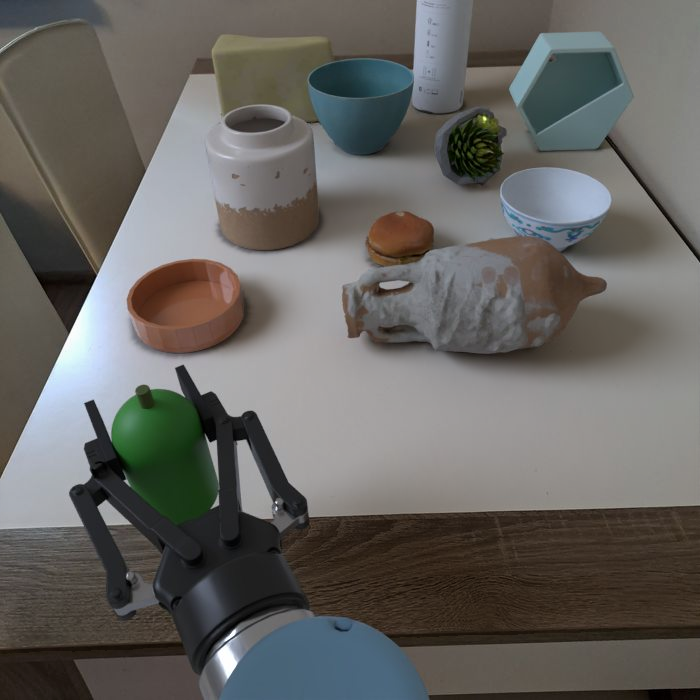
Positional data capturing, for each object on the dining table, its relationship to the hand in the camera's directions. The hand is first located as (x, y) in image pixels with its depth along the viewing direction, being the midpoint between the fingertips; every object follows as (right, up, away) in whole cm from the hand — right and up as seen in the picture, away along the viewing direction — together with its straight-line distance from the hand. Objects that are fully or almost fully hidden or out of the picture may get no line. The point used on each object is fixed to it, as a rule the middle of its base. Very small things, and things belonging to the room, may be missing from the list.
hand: (139, 394), depth 52 cm
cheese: (+4, +49, +75) cm, 90 cm away
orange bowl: (-4, +8, +32) cm, 34 cm away
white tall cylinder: (+35, +53, +79) cm, 101 cm away
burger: (+24, +18, +42) cm, 52 cm away
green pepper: (+3, -8, +2) cm, 9 cm away
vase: (+5, +23, +48) cm, 54 cm away
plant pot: (+19, +41, +67) cm, 81 cm away
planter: (+55, +42, +66) cm, 95 cm away
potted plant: (+38, +32, +56) cm, 75 cm away
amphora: (+32, +5, +28) cm, 43 cm away
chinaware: (+46, +20, +43) cm, 66 cm away
